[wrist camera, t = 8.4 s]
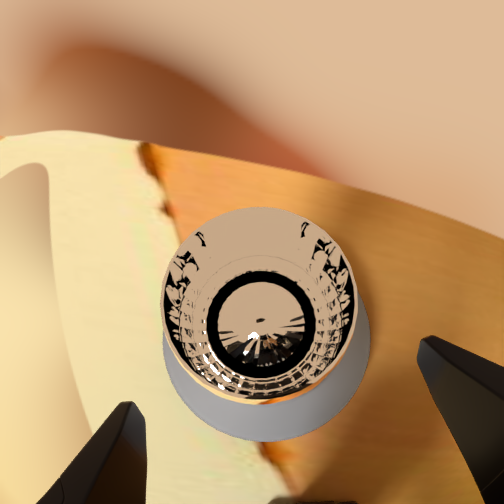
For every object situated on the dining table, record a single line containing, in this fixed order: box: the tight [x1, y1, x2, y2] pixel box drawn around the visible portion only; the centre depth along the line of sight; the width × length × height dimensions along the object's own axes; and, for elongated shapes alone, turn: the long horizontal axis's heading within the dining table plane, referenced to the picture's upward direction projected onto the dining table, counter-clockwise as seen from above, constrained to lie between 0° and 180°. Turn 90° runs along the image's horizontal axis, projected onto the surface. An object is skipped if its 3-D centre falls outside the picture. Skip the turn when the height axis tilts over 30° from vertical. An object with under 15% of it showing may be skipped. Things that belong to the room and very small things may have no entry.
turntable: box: [163, 291, 370, 442], centre depth 19 cm, size 13×13×1 cm
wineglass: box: [160, 207, 358, 408], centre depth 13 cm, size 6×6×12 cm
